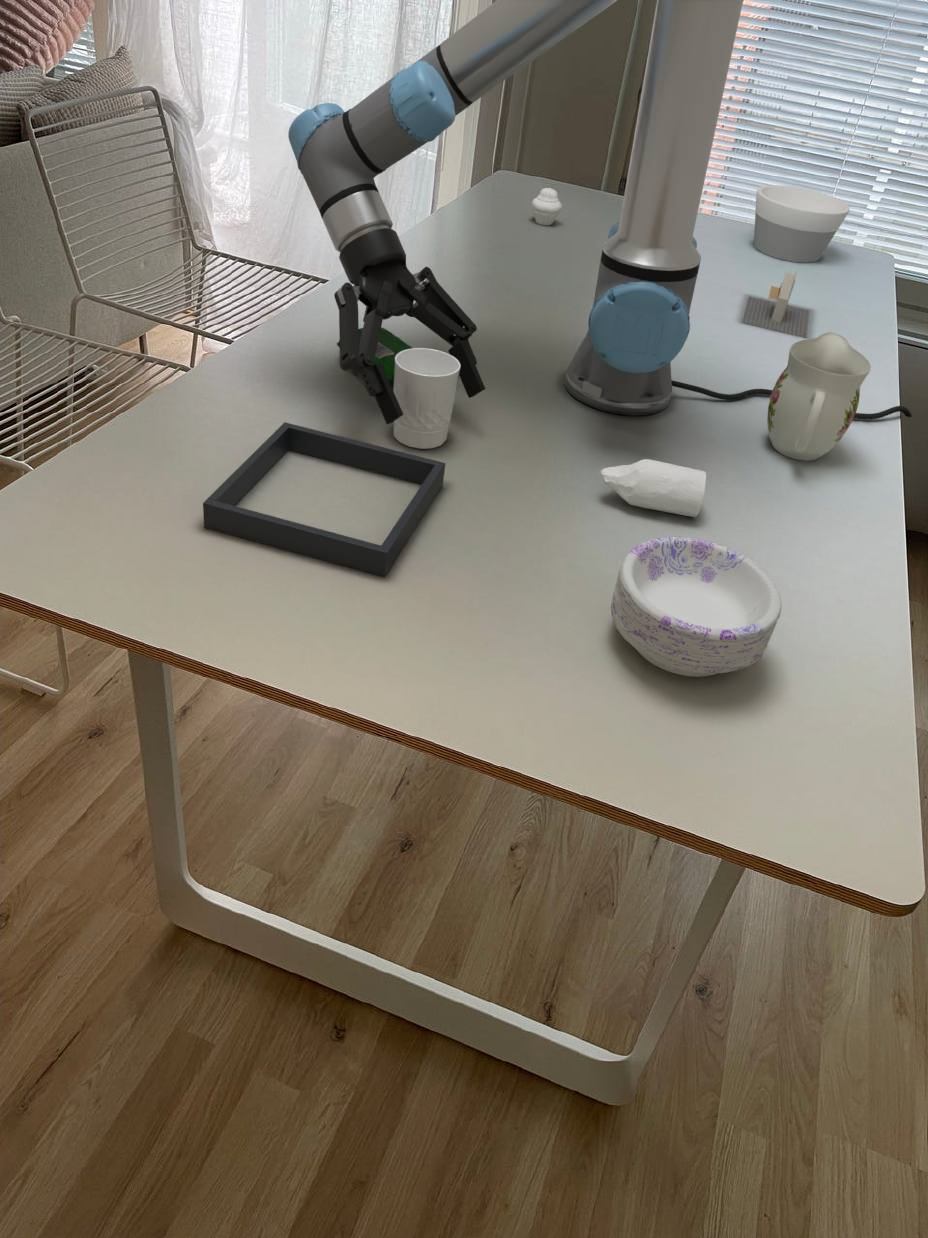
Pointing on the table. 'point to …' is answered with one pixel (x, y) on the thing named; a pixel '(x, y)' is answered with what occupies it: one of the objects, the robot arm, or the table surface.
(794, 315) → the architectural model
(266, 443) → the dark grey square frame
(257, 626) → the table surface
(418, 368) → the white cup
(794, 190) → the bowl
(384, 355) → the snack package
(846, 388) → the pitcher
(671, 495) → the white tapered cylinder
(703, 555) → the paper bowls
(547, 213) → the muffin
